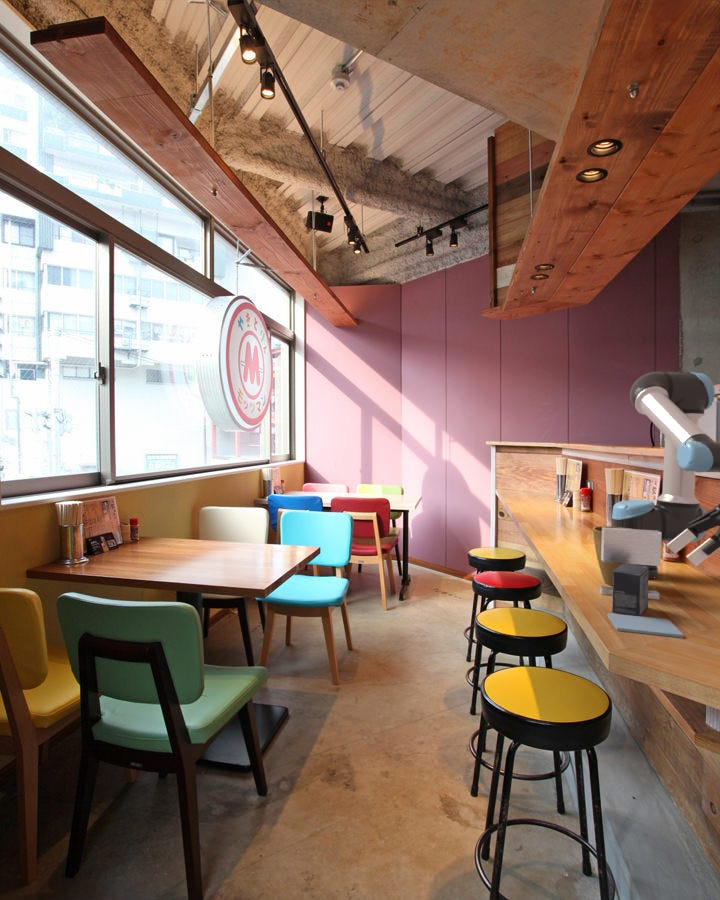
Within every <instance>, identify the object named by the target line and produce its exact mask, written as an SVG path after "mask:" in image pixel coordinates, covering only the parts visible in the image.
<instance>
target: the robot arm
mask: <svg viewBox="0 0 720 900" xmlns="http://www.w3.org/2000/svg"><path fill="white" fill-rule="evenodd" d="M714 385H715V384H714V382H713V380H711V378H709V376H708V375H706V374H704V373H701V372H692V371H652V372H648V373H646V374H643V375H642V376H640V377H638V378H637V379H636V380H635V381H634V383H633V384H632V386H631V388H630V391H629V399H630V403H631V405H632V406H633V407H634V409H635V410H636V411H637V412H638V413H639V414H642V415H644V416H646V417H647V418H648V419H649V420H650V421H651V422H652V423H653V424H654V426H655V427H656V428H657V429H658V430H659V431H660V432H661V433H662V434H663V435H664V454H663V472H662V473H663V474H662V475H663V476H662V492H661V494H660V495H659V496H658V497H657V498H656V503H655V502H654V501H653V500H648V499H647V500H646V499H630V500H621V501H618V502H616V503H615V504H614V505H613V508H612V514H611V527H622V528H630V529H639V530H655V531H660V532H662V537H661V543H662V542H665V543H666V545H665V546H666V547H668V549H669V550H671V552H672V553H674V554H677V553H679V551H681V550H682V549H684V548H685V547H686V546H687V545H688V544H690V543H695V542H698V541H700V540H701V539H702V538H703V537H704V536H705V534H706V532H707V531H709V530H711V529H713V528H716V527H718V528H717V531H716V532H715V533H714V534H712V535H710V536H709V538H708V539H706V541H704V542H703V543H702V544H700V545H699V546H698V547H696V548H695V549H694V550H692V551H691V552H690V553H689V554H687V555H685V557H686V558H687V559H688V560H689V561H690V562H691V563H692V564H693V565H694V566H695V567H698V565H700V564H702V563H703V562H704V561H706V559H707V558H709V557H710V556H712V555H713V554H714V553H715V552H717V551H718V550H719V549H720V503H719V504H717V505H716V506H715V507H713V508H712V509H710V510H709V511H707V512H706V510H705V509H704V508H703V507H702V506H700V503H701V502H700V501H699V499H697V498H696V497H695V488H696V487H695V486H696V485H695V483H696V473H720V442H719V441H718V442H716V441H714V440H713V438H711V437H710V436H709V435H708V434H707V433H706V432H705V431H704V430H703V429H702V428H701V427H700V426H699V420H700V419H702V417H704V416H705V410H707V409H709V408H711V406H713V402H714V400H715V396H716V393H715V392H716V390H715V386H714ZM642 566H645V567H649V573H648V578H654V577H657V576H658V577H659V568H658V567H659V566H652V565H642ZM658 577H657V578H658ZM654 579H655V578H654Z"/></svg>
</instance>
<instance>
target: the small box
mask: <svg viewBox="0 0 720 900" xmlns="http://www.w3.org/2000/svg"><path fill="white" fill-rule="evenodd" d="M648 573H649V567H645V566H637V565H629V564H622V565H620V566H619V567H618V568H617V569H615V570H614V571H613V586H612V587H613V595H612V607H611V609H612V610H611V611H612V614H621V615H631V616H641V617H643V615H644V614H645V612H646V611H647V609H648V608H649V599H648V590H649V579H648Z"/></svg>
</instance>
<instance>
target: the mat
mask: <svg viewBox="0 0 720 900" xmlns="http://www.w3.org/2000/svg"><path fill="white" fill-rule="evenodd" d="M606 616H607V617H608V619H609V621H610V622H611V624H612V625H613V626H614V628H615V629H616V631H618V632H627V633H635V634H645V635H654V636H662V637H663V636H664V637H673V638H680V639H681V638H682V639H685V635H684V634H683V632H681V630H680V629H679V628H678V627H676V625H674V623H672V621H670V619H668V618H667V619H666V618H658V617H647V616H631V615H622V614H617V613H613V612H612V613H611V612H609V613H608V612H607V613H606Z"/></svg>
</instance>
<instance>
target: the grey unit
mask: <svg viewBox="0 0 720 900" xmlns="http://www.w3.org/2000/svg"><path fill="white" fill-rule="evenodd" d="M661 537H662V532H660V531H655V530H639V529H623V528H607V527H602V543H601V560H602V561H603V562H614V563H625V564H629V565H635V564H640V565H652V566H657V567H661V564H662V563H661V562H662V561H661V559H662V558H661V557H662V555H661V554H662V542H661ZM599 592H600V593H601V595H608V596H613V586H609V585H607V586H606V585H600V586H599ZM649 599H650V600H659V601H660V593H659V592H658V591H657V590H650V589H648V600H649Z"/></svg>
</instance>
